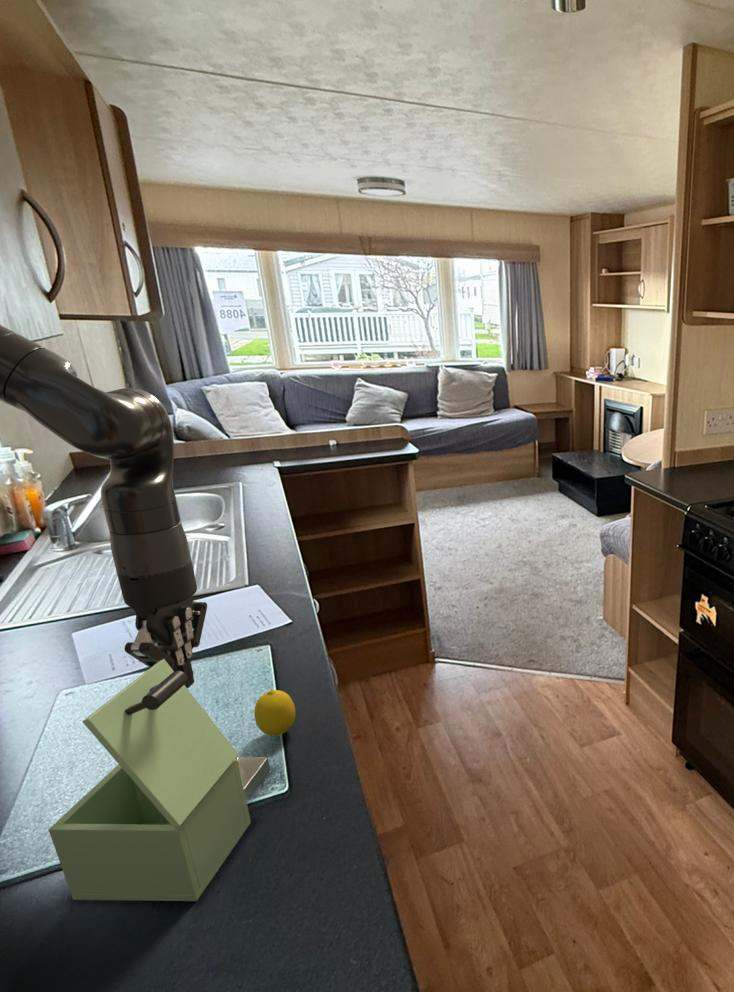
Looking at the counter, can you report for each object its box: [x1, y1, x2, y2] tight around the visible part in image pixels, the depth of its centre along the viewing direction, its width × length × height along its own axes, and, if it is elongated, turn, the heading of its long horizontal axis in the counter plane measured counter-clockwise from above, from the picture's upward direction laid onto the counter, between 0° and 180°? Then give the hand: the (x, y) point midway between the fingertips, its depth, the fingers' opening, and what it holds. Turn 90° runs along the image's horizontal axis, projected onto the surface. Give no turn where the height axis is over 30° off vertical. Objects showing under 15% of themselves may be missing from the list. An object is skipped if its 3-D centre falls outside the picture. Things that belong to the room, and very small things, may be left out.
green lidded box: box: [48, 759, 252, 902], centre depth 76 cm, size 14×12×10 cm
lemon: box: [254, 689, 296, 737], centre depth 99 cm, size 6×6×8 cm
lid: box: [82, 659, 239, 828], centre depth 71 cm, size 15×12×5 cm
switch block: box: [235, 755, 271, 803], centre depth 88 cm, size 11×8×4 cm
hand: (182, 687), depth 83 cm, fingers closed
